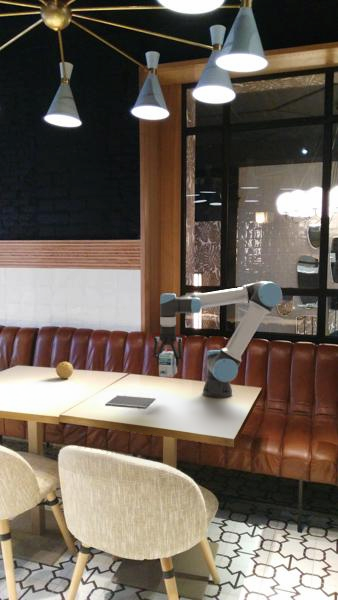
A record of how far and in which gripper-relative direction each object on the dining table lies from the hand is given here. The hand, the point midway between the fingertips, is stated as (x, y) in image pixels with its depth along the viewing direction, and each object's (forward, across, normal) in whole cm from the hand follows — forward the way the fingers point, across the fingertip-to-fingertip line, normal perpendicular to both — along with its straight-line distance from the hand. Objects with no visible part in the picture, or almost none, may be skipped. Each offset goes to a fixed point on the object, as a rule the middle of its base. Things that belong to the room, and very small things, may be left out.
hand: (168, 372), depth 231 cm
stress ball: (+14, +71, -31) cm, 79 cm away
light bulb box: (+1, 0, 0) cm, 1 cm away
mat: (+15, +17, +5) cm, 23 cm away
